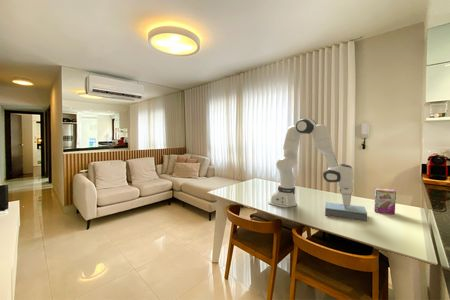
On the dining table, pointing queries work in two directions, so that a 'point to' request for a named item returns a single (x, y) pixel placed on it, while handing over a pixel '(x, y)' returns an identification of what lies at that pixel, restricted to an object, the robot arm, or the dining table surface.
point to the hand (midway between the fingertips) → (345, 207)
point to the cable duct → (346, 215)
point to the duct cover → (349, 209)
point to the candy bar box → (385, 201)
